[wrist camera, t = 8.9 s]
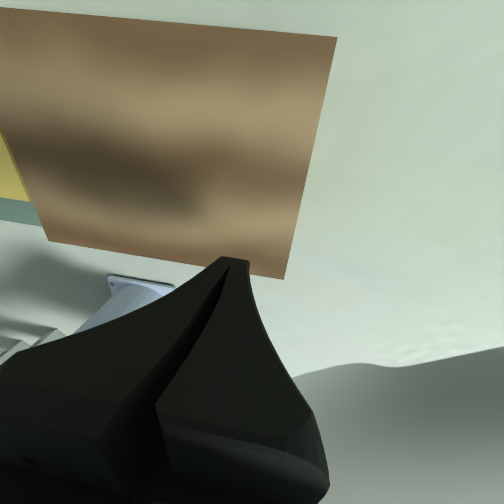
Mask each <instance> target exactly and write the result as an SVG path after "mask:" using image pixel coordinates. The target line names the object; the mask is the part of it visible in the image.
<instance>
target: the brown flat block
mask: <svg viewBox="0 0 504 504" xmlns="http://www.w3.org/2000/svg"><path fill="white" fill-rule="evenodd" d="M336 42H337V37H331V36H319V35H308V34H297V33H286V32H274V31H263V30H252V29H240V28H229V27H218V26H207V25H195V24H184V23H173V22H162V21H150V20H139V19H128V18H116V17H105V16H94V15H83V14H71V13H60V12H49V11H38V10H26V9H15V8H4V7H0V126H1V128H2V130H3V133H4V135H5V138H6V140H7V142H8V145H9V147H10V150H11V152H12V154H13V157H14V159H15V162H16V164H17V166H18V169H19V171H20V174H21V176H22V178H23V181H24V183H25V186H26V188H27V190H28V193H29V195H30V198H31V200H32V202H33V205H34V207H35V210H36V212H37V214H38V217H39V219H40V222H41V224H42V226H43V229H44V231H45V234H46V236H47V238H48V241H52V242H58V243H64V244H70V245H76V246H82V247H88V248H94V249H100V250H106V251H112V252H118V253H124V254H131V255H137V256H143V257H149V258H155V259H161V260H167V261H173V262H179V263H185V264H191V265H197V266H203V267H208V266H209V265H210V264H212V263H213V262H214V261H215V260H217V259H218V258H219V257H221V256H225V257H232V258H238V259H244V260H248V261H249V262H250V269H249V274H251V275H258V276H264V277H270V278H276V279H282V280H284V276H285V271H286V267H287V262H288V258H289V253H290V249H291V244H292V240H293V235H294V231H295V226H296V222H297V217H298V213H299V208H300V204H301V199H302V195H303V190H304V186H305V181H306V177H307V172H308V168H309V163H310V159H311V154H312V150H313V145H314V141H315V136H316V132H317V127H318V123H319V118H320V114H321V109H322V105H323V100H324V96H325V91H326V87H327V82H328V78H329V73H330V69H331V64H332V60H333V55H334V51H335V46H336Z"/></svg>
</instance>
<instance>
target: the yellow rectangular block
mask: <svg viewBox="0 0 504 504" xmlns="http://www.w3.org/2000/svg"><path fill="white" fill-rule="evenodd" d="M0 197H2V198H9V199H15V200H21V201H28V202H30V201H32V200H31V198H30V195H29V193H28V190H27V188H26V186H25V183H24V181H23V178H22V176H21V174H20V171H19V169H18V166H17V164H16V162H15V159H14V157H13V154H12V152H11V150H10V147H9V145H8V142H7V140H6V138H5V135H4V133H3V130H2V128H1V126H0Z"/></svg>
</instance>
